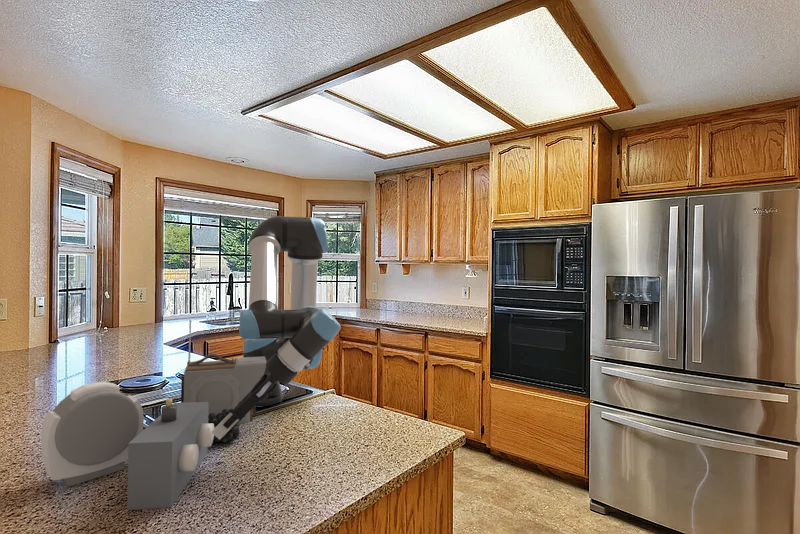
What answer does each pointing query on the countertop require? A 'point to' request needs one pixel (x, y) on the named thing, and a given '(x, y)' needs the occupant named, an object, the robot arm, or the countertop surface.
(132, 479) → the block
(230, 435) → the fruit
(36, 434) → the countertop surface
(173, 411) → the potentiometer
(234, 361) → the portable television
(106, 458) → the grey rounded slab
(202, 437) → the knob
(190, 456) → the knob
